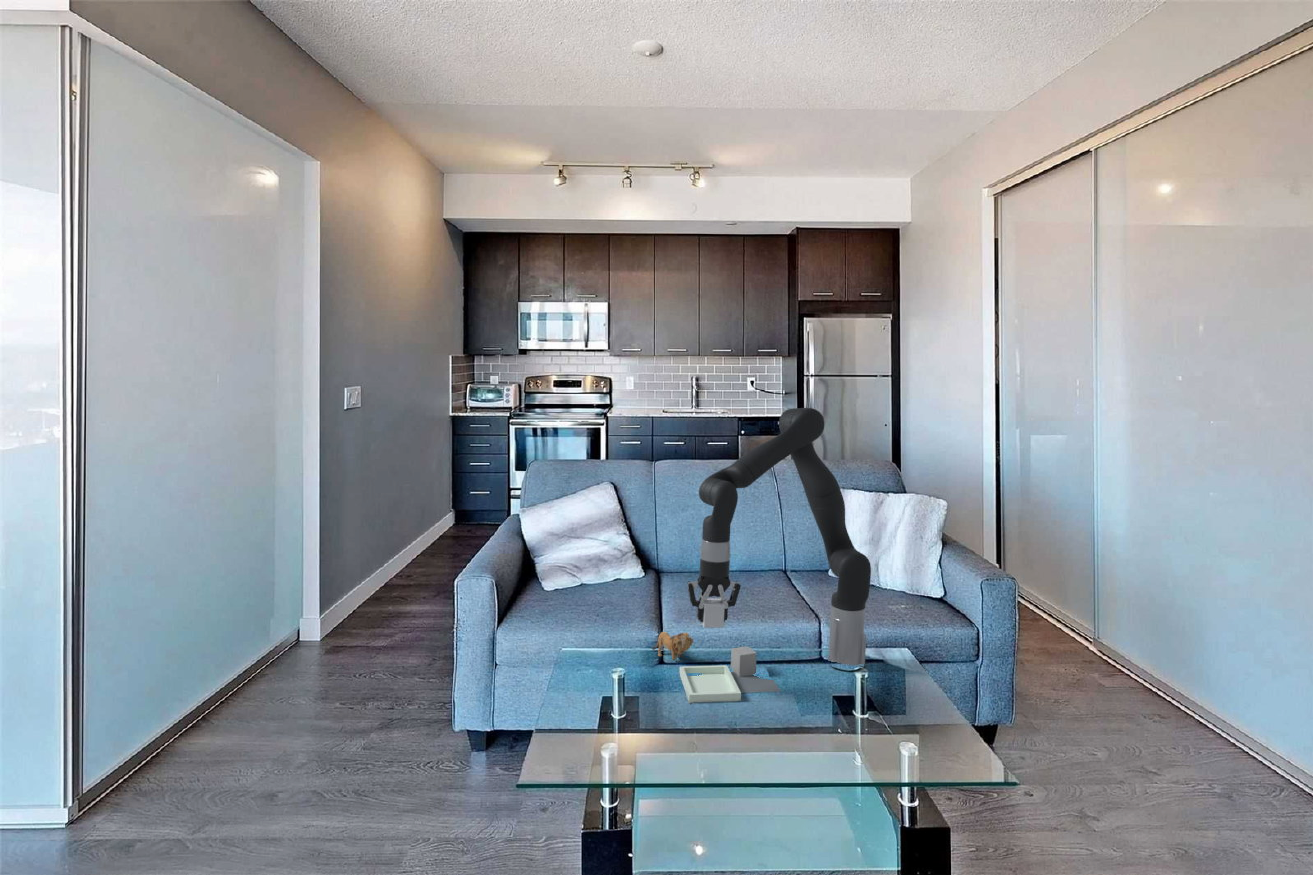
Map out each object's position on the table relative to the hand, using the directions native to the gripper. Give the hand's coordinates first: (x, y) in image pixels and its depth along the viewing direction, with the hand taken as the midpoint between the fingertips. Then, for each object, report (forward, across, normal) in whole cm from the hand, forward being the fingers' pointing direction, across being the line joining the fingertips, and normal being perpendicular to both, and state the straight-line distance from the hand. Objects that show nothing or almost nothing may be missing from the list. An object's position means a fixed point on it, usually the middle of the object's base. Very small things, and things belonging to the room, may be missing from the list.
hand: (711, 621), depth 198 cm
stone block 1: (+1, 0, 0) cm, 1 cm away
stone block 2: (+17, -11, -8) cm, 22 cm away
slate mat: (+18, -13, -4) cm, 22 cm away
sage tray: (+18, 0, 0) cm, 18 cm away
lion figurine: (+18, +7, -20) cm, 28 cm away
